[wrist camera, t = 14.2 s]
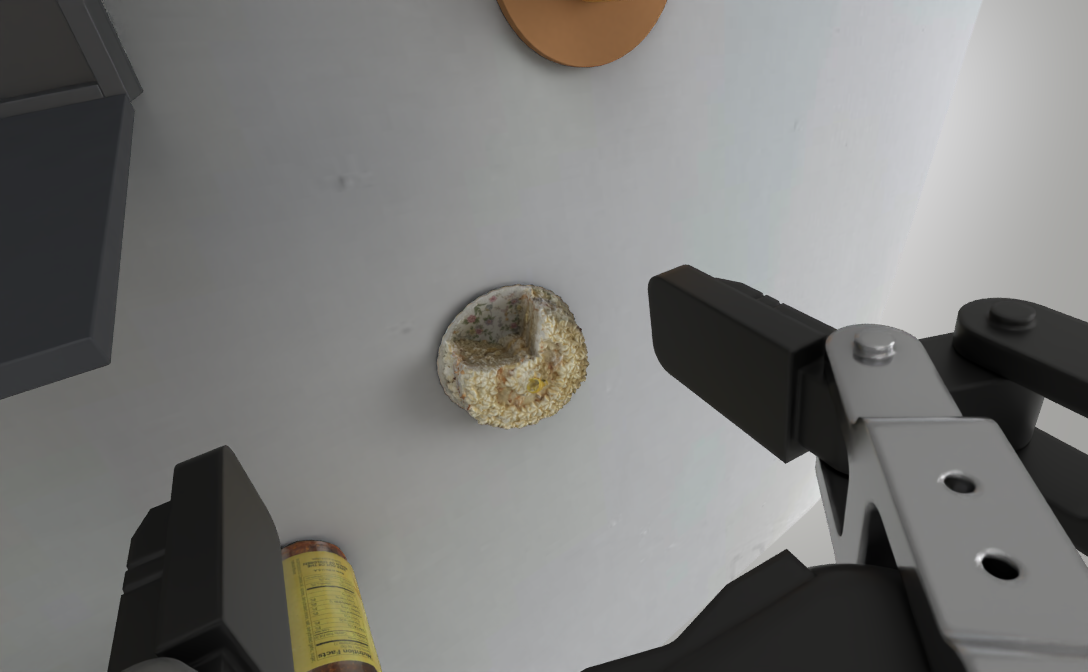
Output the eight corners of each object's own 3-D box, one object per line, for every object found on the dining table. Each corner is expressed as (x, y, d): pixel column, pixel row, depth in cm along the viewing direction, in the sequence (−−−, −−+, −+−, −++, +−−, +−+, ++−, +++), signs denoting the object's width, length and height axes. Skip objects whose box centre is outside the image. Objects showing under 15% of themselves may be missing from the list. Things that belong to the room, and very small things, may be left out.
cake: (593, 340, 44) (636, 379, 40) (491, 433, 44) (524, 482, 40) (523, 250, 38) (566, 285, 34) (403, 358, 37) (431, 407, 33)
